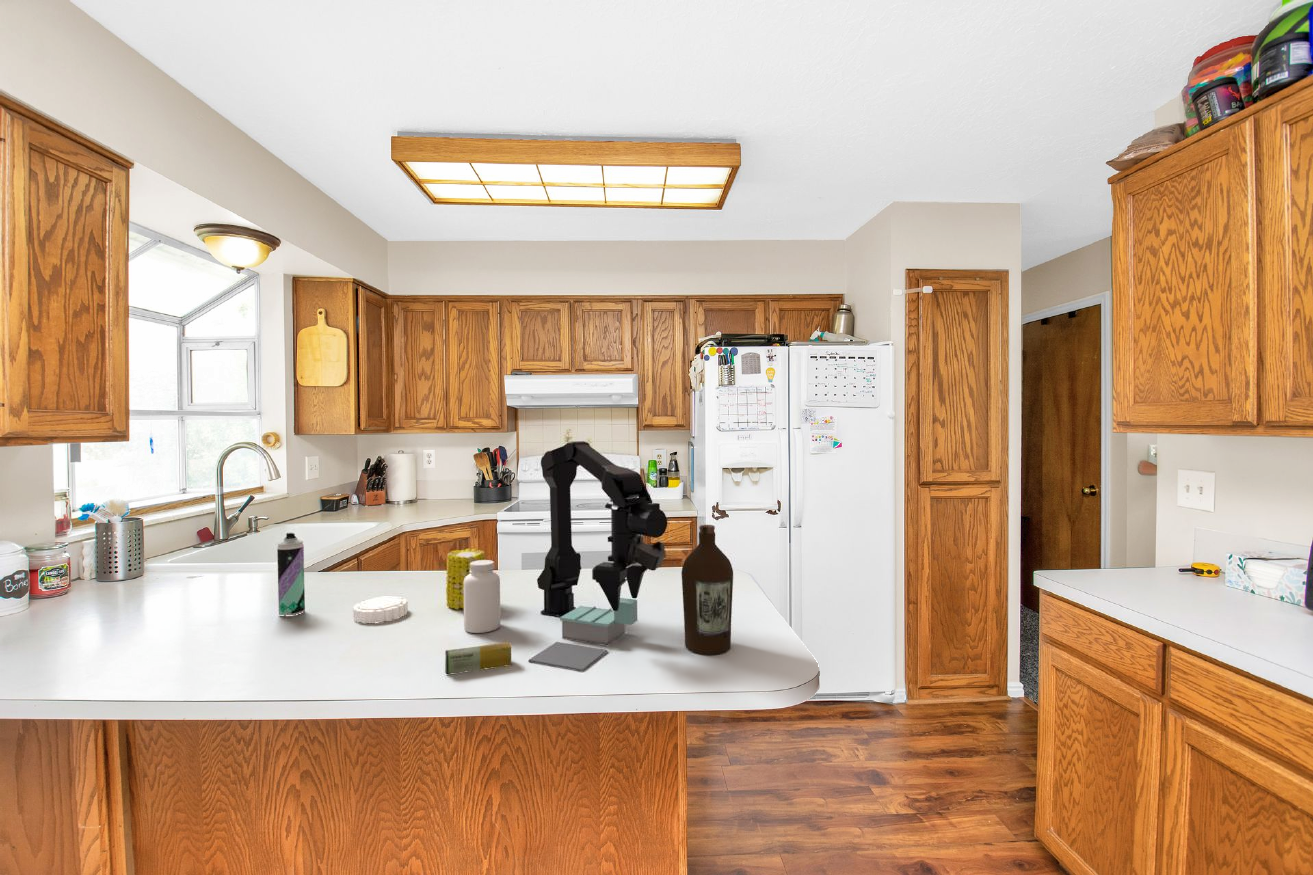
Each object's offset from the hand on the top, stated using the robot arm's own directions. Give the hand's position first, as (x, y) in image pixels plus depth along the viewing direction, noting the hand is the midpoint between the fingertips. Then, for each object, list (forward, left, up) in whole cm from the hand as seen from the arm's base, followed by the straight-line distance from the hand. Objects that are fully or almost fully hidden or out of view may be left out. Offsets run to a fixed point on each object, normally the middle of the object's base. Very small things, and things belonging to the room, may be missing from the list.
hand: (625, 604), depth 123 cm
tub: (-8, 0, -8) cm, 11 cm away
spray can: (-85, -14, -8) cm, 86 cm away
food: (-49, +7, -8) cm, 50 cm away
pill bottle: (-34, -5, -8) cm, 35 cm away
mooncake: (-63, -7, -8) cm, 64 cm away
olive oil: (+17, +3, -8) cm, 19 cm away
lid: (-6, 0, -4) cm, 7 cm away
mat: (-7, -12, -8) cm, 16 cm away
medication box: (-20, -23, -8) cm, 31 cm away
